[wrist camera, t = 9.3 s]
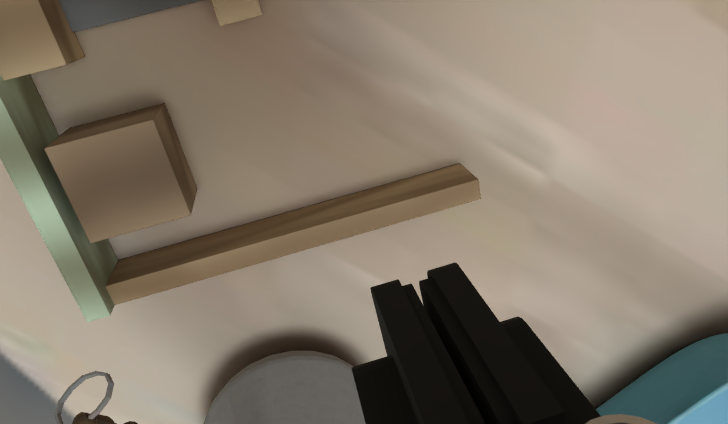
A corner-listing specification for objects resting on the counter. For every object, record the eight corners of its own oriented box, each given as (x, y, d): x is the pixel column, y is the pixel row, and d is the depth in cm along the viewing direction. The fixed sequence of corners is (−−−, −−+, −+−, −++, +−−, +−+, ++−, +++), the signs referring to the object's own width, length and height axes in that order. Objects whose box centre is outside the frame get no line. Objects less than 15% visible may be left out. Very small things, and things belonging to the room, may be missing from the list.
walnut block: (70, 127, 29) (44, 148, 25) (165, 102, 29) (152, 119, 26) (109, 212, 31) (90, 243, 27) (197, 188, 31) (190, 215, 28)
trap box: (-67, -66, 25) (-122, -74, 21) (405, -174, 26) (430, -199, 23) (105, 283, 32) (87, 322, 29) (462, 181, 34) (487, 205, 30)
